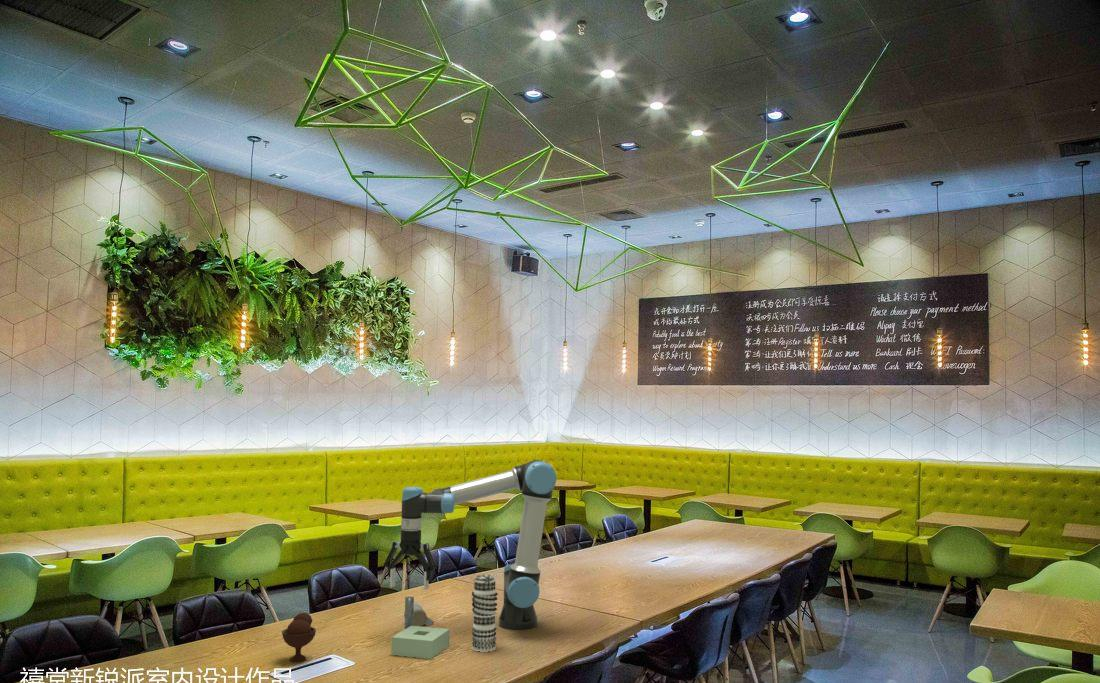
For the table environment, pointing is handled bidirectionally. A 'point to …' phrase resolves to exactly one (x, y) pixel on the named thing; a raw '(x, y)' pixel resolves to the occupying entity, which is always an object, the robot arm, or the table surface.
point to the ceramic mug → (420, 616)
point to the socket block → (420, 642)
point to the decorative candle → (484, 613)
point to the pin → (409, 611)
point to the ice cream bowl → (299, 635)
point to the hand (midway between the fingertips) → (409, 587)
